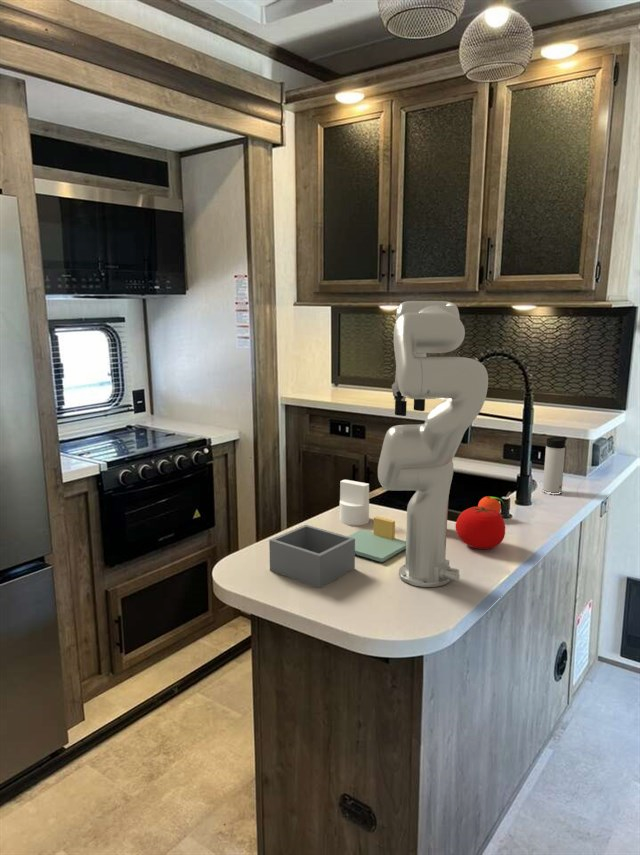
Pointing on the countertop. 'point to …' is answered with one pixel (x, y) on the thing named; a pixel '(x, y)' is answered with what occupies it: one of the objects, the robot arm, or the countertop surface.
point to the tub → (312, 555)
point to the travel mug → (554, 464)
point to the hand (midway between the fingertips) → (410, 413)
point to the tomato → (480, 527)
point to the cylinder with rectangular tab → (354, 502)
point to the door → (378, 541)
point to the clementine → (490, 503)
